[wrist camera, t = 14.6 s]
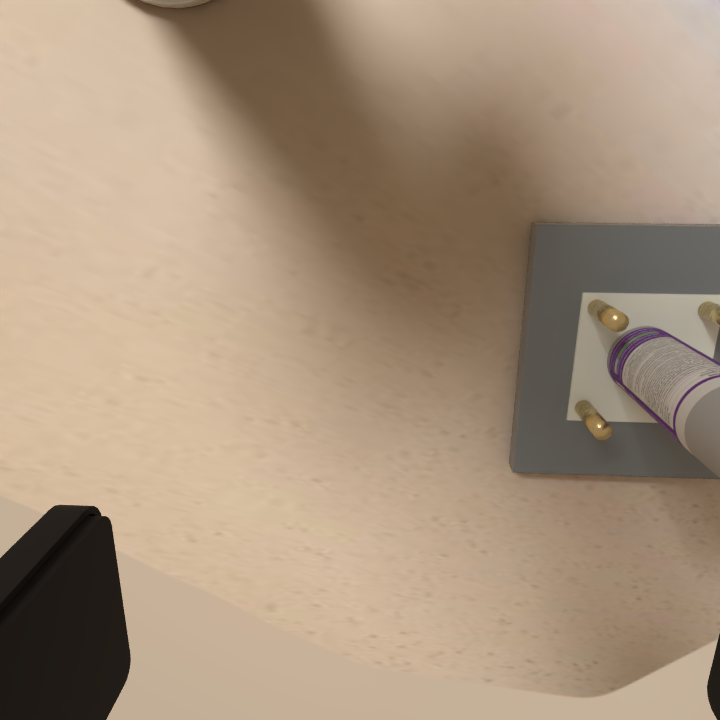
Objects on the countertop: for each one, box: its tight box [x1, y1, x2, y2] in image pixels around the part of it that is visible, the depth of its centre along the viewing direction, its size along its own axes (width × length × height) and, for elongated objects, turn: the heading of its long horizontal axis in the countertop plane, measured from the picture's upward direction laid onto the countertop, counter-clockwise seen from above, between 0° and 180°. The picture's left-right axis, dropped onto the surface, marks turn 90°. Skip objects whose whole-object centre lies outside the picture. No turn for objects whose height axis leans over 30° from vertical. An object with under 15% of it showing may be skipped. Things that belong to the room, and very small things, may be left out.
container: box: [607, 326, 720, 478], centre depth 33 cm, size 5×5×15 cm
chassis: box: [509, 222, 720, 479], centre depth 41 cm, size 18×16×2 cm
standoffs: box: [575, 299, 720, 440], centre depth 38 cm, size 8×8×4 cm
